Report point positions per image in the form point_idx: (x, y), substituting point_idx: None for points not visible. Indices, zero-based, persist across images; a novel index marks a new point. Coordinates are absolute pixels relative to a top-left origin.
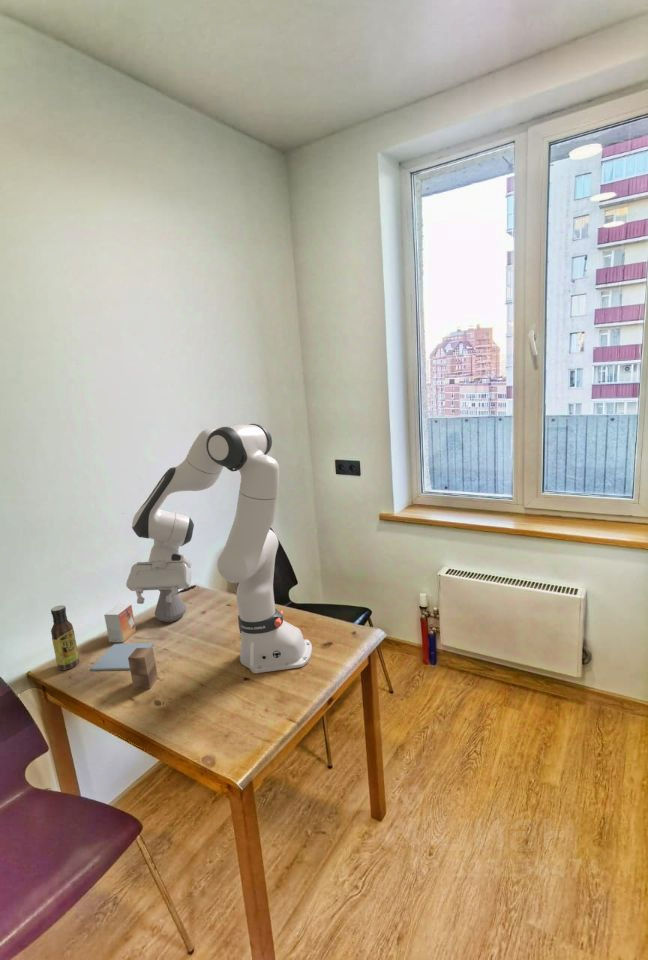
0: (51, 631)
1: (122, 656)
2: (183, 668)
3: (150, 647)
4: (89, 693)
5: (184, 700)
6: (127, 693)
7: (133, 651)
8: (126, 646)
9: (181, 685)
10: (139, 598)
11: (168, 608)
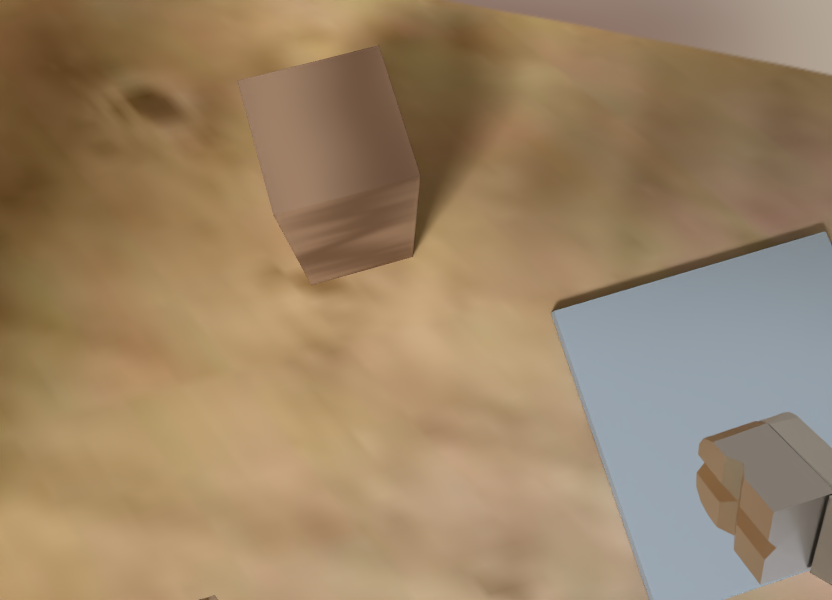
0: None
1: (736, 402)
2: (207, 415)
3: (642, 576)
4: (611, 71)
5: (9, 157)
6: None
7: (403, 126)
8: None
9: (109, 262)
10: (796, 469)
11: None
